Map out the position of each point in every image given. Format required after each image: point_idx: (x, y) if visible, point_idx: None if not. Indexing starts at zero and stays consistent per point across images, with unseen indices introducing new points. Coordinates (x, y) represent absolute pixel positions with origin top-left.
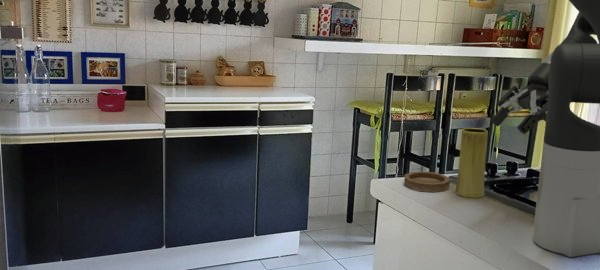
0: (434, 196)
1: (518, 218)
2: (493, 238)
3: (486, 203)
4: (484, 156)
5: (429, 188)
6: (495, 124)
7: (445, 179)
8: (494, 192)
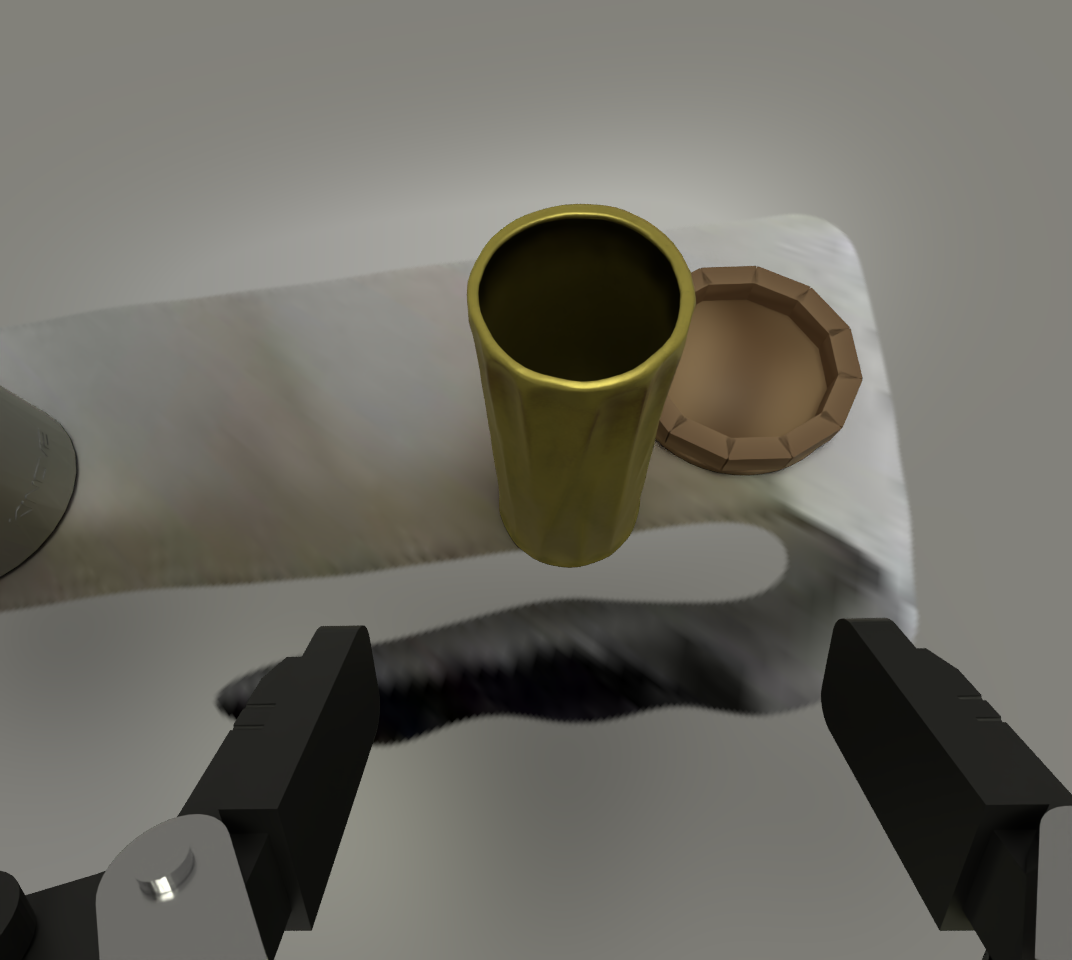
0: None
1: (230, 512)
2: (140, 317)
3: (427, 496)
4: (498, 441)
5: None
6: (826, 667)
7: (698, 426)
8: (555, 638)
